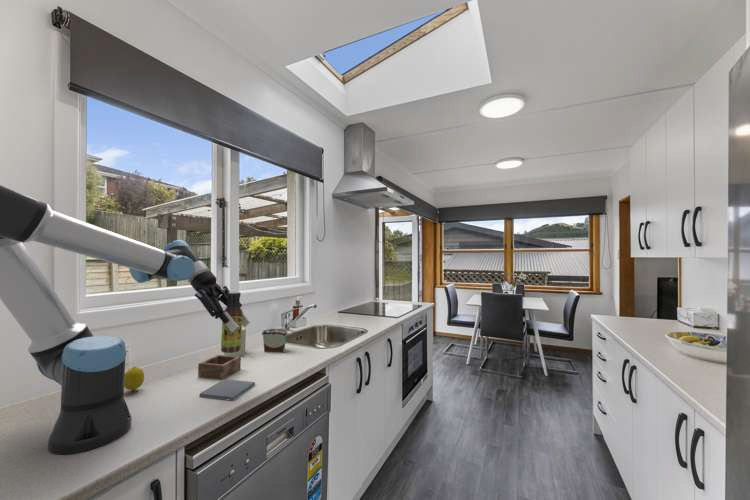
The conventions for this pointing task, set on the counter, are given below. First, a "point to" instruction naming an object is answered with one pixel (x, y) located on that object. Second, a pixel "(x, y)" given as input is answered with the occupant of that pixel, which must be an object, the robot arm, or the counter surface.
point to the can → (242, 350)
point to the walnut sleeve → (219, 367)
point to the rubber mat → (227, 389)
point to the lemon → (133, 378)
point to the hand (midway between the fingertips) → (241, 326)
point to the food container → (274, 340)
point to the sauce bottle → (233, 339)
